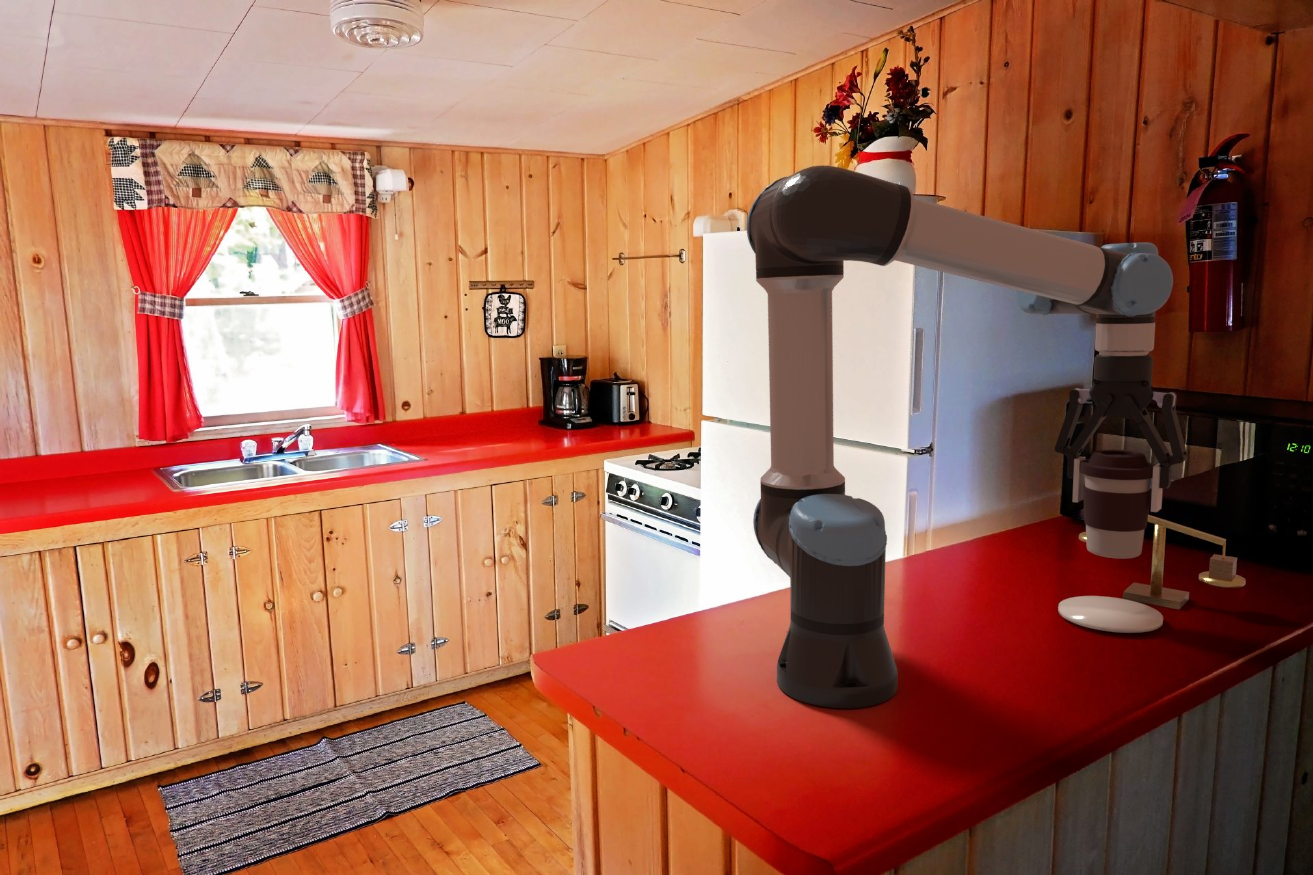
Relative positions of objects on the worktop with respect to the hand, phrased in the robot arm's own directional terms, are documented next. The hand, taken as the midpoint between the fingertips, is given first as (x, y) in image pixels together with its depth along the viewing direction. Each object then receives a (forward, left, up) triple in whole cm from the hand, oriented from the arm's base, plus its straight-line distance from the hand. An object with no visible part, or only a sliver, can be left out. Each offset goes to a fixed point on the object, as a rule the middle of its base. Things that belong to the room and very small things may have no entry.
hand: (1116, 505), depth 133 cm
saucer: (0, 0, -17) cm, 17 cm away
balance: (+14, -3, -17) cm, 23 cm away
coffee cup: (0, 0, -7) cm, 7 cm away
